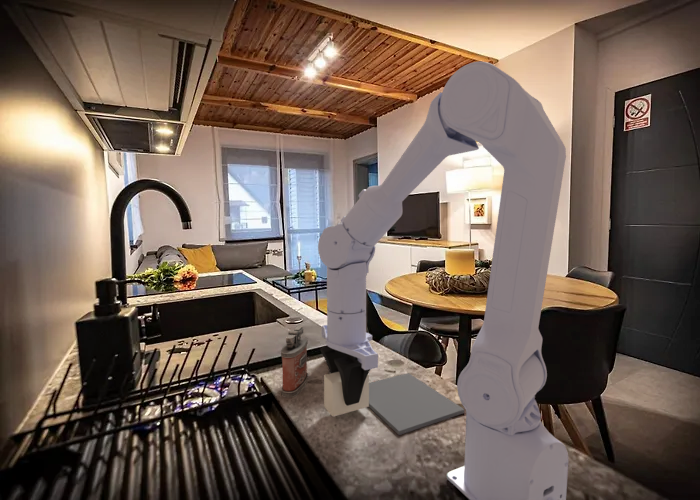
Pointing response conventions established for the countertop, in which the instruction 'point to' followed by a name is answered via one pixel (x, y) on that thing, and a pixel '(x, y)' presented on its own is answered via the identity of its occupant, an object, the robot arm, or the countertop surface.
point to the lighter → (294, 363)
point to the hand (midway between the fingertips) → (346, 397)
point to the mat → (409, 403)
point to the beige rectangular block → (341, 395)
